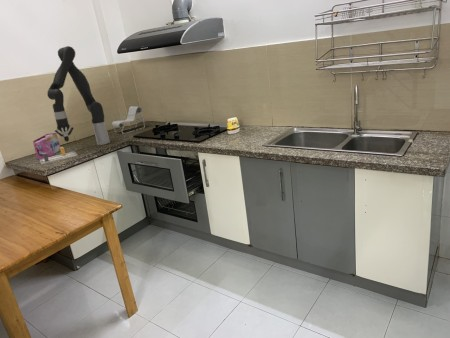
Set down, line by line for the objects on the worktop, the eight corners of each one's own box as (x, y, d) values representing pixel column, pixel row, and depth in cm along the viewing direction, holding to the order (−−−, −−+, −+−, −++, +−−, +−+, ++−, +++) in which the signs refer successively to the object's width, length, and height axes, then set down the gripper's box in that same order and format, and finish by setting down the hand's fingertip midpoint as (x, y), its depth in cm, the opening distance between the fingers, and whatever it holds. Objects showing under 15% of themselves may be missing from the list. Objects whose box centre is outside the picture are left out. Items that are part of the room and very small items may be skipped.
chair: (145, 127, 320) (141, 106, 313) (121, 134, 304) (116, 112, 297) (138, 126, 329) (133, 105, 322) (113, 133, 313) (108, 111, 307)
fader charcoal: (48, 159, 247) (46, 152, 246) (48, 160, 244) (46, 153, 243) (44, 160, 246) (42, 153, 244) (45, 161, 243) (42, 154, 241)
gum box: (47, 158, 255) (41, 140, 251) (36, 160, 256) (30, 142, 251) (61, 149, 278) (56, 132, 273) (51, 150, 278) (46, 133, 273)
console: (74, 152, 263) (74, 150, 262) (77, 155, 253) (77, 153, 252) (39, 160, 252) (39, 158, 251) (41, 164, 242) (40, 162, 241)
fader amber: (65, 153, 258) (63, 146, 256) (65, 154, 255) (63, 147, 253) (61, 154, 257) (59, 147, 255) (62, 155, 254) (60, 148, 252)
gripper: (70, 115, 256) (75, 138, 262) (50, 118, 250) (56, 142, 256) (71, 116, 250) (77, 140, 255) (51, 120, 244) (57, 144, 249)
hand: (67, 141), depth 255 cm, fingers closed
